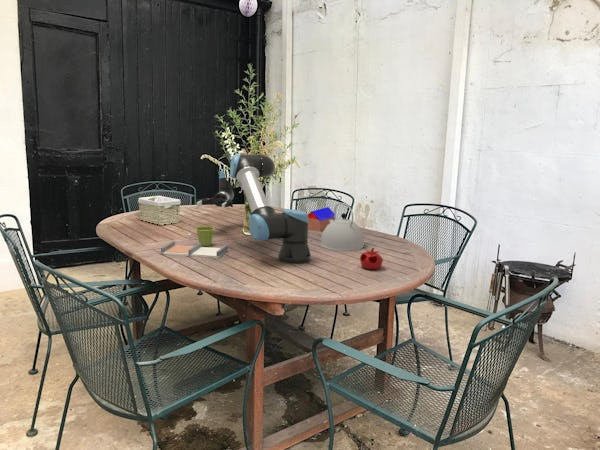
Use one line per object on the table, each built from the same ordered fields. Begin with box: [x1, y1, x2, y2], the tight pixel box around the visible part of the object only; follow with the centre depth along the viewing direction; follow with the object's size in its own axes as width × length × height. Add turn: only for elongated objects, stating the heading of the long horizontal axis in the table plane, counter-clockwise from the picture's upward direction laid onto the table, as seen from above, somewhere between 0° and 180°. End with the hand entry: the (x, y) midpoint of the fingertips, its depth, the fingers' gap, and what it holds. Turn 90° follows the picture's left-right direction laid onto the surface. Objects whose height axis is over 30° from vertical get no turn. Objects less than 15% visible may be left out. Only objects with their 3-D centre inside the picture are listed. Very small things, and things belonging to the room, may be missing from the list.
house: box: [307, 206, 335, 232], centre depth 294 cm, size 12×20×12 cm, turn 148°
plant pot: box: [195, 226, 216, 247], centre depth 245 cm, size 9×9×9 cm
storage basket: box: [137, 195, 182, 226], centre depth 297 cm, size 24×16×15 cm
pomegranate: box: [359, 247, 384, 270], centre depth 214 cm, size 10×10×9 cm
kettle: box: [320, 202, 365, 252], centre depth 252 cm, size 25×23×22 cm
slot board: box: [160, 240, 229, 259], centre depth 231 cm, size 28×14×3 cm, turn 82°
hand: (209, 206), depth 250 cm, fingers open, 13 cm apart
